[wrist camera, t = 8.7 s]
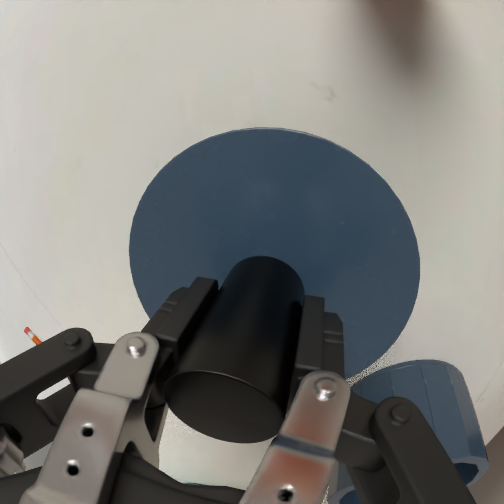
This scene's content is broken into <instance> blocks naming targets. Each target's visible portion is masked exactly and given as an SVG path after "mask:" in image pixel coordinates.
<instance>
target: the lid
mask: <svg viewBox="0 0 504 504" xmlns="http://www.w3.org/2000/svg"><path fill="white" fill-rule="evenodd" d="M129 257H130V268H131V273H132V278H133V282H134V285H135V288H136V291H137V294H138V297H139V299H140V301H141V303H142V306H143V308H144V310H145V312H146V313H147V315H148V316H149V318H150V319H151V318H152V317H153V315H154V314H155V313H156V312H157V310H158V309H160V307H161V305H162V304H163V303H165V300H166V299H167V298H168V297H169V296H170V294H171V293H172V292H174V291H176V290H178V289H179V288H181V287H187V288H189V287H190V286H191V284H192V283H193V282H194V280H195V279H196V278H197V277H198V276H199V277H204V278H210V279H215V280H218V284H219V291H218V292H217V294H216V296H215V297H214V299H213V301H212V303H211V304H210V306H209V308H208V309H207V311H206V313H205V314H204V316H203V318H202V320H201V321H200V323H199V325H198V326H197V328H196V330H195V331H194V333H193V335H192V337H191V338H190V340H189V342H188V343H187V345H186V347H185V349H184V350H183V352H182V354H181V355H180V357H179V359H178V361H177V362H176V364H175V366H174V367H173V369H172V371H171V373H170V374H169V376H168V378H167V379H166V381H165V383H164V386H163V395H164V399H165V401H166V403H167V405H168V407H169V408H170V410H171V411H172V412H173V413H174V414H175V415H176V416H177V417H178V418H179V419H180V420H181V421H182V422H184V423H185V424H187V425H188V426H189V427H191V428H193V429H194V430H196V431H198V432H200V433H202V434H205V435H207V436H210V437H212V438H215V439H219V440H223V441H227V442H234V443H257V442H262V441H265V440H268V439H270V438H272V437H274V436H276V435H277V434H278V432H279V430H280V428H281V426H282V424H283V422H284V419H285V417H286V411H287V406H288V400H289V395H290V384H291V378H292V372H293V366H294V360H295V353H296V347H297V340H298V334H299V327H300V320H301V312H302V306H303V300H304V295H311V296H317V297H324V298H325V307H324V312H330V313H337V315H338V316H339V318H340V319H341V321H342V323H343V336H344V343H343V344H344V368H345V380H346V379H348V378H350V377H352V376H354V375H356V374H357V373H359V372H361V371H362V370H364V369H365V368H367V367H368V366H370V365H371V364H373V363H374V362H375V361H376V360H377V359H379V358H380V357H381V356H382V355H383V354H384V353H385V352H386V351H387V350H388V349H389V348H390V347H391V346H392V344H393V343H394V342H395V341H396V340H397V338H398V337H399V335H400V334H401V332H402V331H403V329H404V328H405V326H406V324H407V321H408V319H409V317H410V315H411V313H412V310H413V307H414V304H415V301H416V298H417V293H418V287H419V280H420V257H419V251H418V245H417V239H416V236H415V233H414V230H413V227H412V224H411V221H410V219H409V217H408V215H407V213H406V211H405V209H404V207H403V205H402V203H401V201H400V200H399V198H398V197H397V196H396V194H395V193H394V192H393V190H392V189H391V187H390V186H389V185H388V184H387V182H386V181H385V180H384V179H383V178H382V177H381V176H380V175H379V174H378V173H377V172H376V171H375V170H374V169H373V168H372V167H371V166H370V165H368V164H367V163H366V162H364V161H363V160H362V159H360V158H359V157H357V156H356V155H355V154H353V153H352V152H350V151H349V150H347V149H345V148H343V147H341V146H339V145H337V144H335V143H333V142H331V141H329V140H327V139H324V138H322V137H319V136H316V135H313V134H309V133H306V132H302V131H297V130H291V129H285V128H267V127H256V128H248V129H240V130H233V131H229V132H226V133H222V134H219V135H215V136H212V137H209V138H207V139H205V140H203V141H201V142H199V143H196V144H194V145H192V146H190V147H189V148H187V149H186V150H184V151H183V152H181V153H180V154H179V155H177V156H176V157H174V158H173V159H172V160H171V161H170V162H169V163H168V164H167V165H165V166H164V167H163V168H162V169H161V170H160V171H159V173H158V174H157V175H156V176H155V178H154V179H153V180H152V181H151V183H150V184H149V185H148V187H147V189H146V191H145V192H144V194H143V196H142V198H141V200H140V202H139V204H138V207H137V210H136V212H135V215H134V218H133V223H132V227H131V232H130V243H129Z"/></svg>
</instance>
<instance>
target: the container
mask: <svg viewBox="0 0 504 504" xmlns="http://www.w3.org/2000/svg"><path fill="white" fill-rule="evenodd" d="M350 389H351V390H352V391H353V392H354V393H355V394H357V395H358V396H360V397H362V398H365V399H367V400H370V401H373V402H376V403H378V404H379V403H380V402H381V401H382V400H384V399H385V398H388V397H392V396H399V397H404V398H407V399H409V400H411V401H412V402H413V403H415V404H416V405H417V407H418V408H419V410H420V411H421V413H422V414H423V416H424V417H425V419H426V420H427V422H428V423H429V425H430V427H431V428H432V430H433V431H434V433H435V435H436V436H437V438H438V439H439V441H440V443H441V444H442V446H443V447H444V449H445V451H446V452H447V454H448V456H449V457H450V459H451V461H452V462H453V464H454V466H455V467H456V469H457V471H458V472H459V474H460V476H461V477H462V479H463V481H464V483H465V484H466V486H467V488H468V487H469V486H471V485H472V484H474V483H475V482H476V481H478V480H479V479H480V478H481V477H482V475H483V474H484V473H485V471H486V470H487V469H488V467H489V463H488V458H487V453H486V449H485V445H484V441H483V437H482V433H481V430H480V426H479V422H478V419H477V416H476V412H475V409H474V406H473V403H472V400H471V397H470V394H469V391H468V388H467V385H466V383H465V380H464V377H463V375H462V373H461V372H460V371H459V370H458V369H457V368H456V367H454V366H453V365H451V364H449V363H446V362H442V361H437V360H415V361H409V362H403V363H399V364H396V365H392V366H389V367H386V368H383V369H381V370H379V371H376V372H374V373H372V374H370V375H368V376H366V377H365V378H363V379H362V380H360V381H358V382H357V383H356V384H354V385H353V386H352V387H351V388H350ZM327 502H328V504H361V502H360V499H359V497H358V495H357V492H356V490H355V487H354V485H353V483H352V480H351V478H350V476H349V473H348V471H347V469H346V466H345V464H344V463H342V462H339V461H336V462H335V465H334V469H333V472H332V475H331V478H330V481H329V488H328V496H327Z"/></svg>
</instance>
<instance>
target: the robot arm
mask: <svg viewBox="0 0 504 504" xmlns="http://www.w3.org/2000/svg"><path fill="white" fill-rule="evenodd" d="M218 291H219V284H218V280H215V279H210V278H204V277H199V276H198V277H197V278H196V279H195V280H194V282H193V283H192V284H191V286H190V287H189V288H187V287H181V288H179V289H178V290H176V291H174V292H172V293H171V294H170V296H169V297H168V298H167V299H166V300H165V303H163V304H162V305H161V307H160V309H158V310H157V312H156V313H155V314H154V315H153V317H152V318H151V319H150V320H149V322H148V323H147V324H146V326H145V327H144V328H143V329H142V331H141V332H132V333H128V334H126V335H124V336H122V337H121V338H119V339H118V340H117V342H116V343H115V344H108V343H94V341H93V338H92V335H91V333H90V332H89V331H87V330H86V329H83V328H71V329H67V330H65V331H63V332H61V333H59V334H57V335H55V336H53V337H52V338H50V339H48V340H46V341H44V342H42V343H40V344H38V345H36V346H34V347H33V348H31V349H29V350H27V351H25V352H23V353H21V354H19V355H18V356H16V357H14V358H12V359H10V360H8V361H6V362H5V363H3V364H1V365H0V504H321V503H322V501H323V498H324V495H325V492H326V490H327V487H328V484H329V481H330V478H331V475H332V472H333V469H334V465H335V462H336V461H339V462H342V463H344V464H345V466H346V469H347V471H348V473H349V476H350V478H351V480H352V483H353V485H354V487H355V490H356V492H357V495H358V497H359V499H360V502H361V504H476V502H475V500H474V498H473V497H472V495H471V493H470V491H469V490H468V488H467V486H466V484H465V483H464V481H463V479H462V477H461V476H460V474H459V472H458V471H457V469H456V467H455V466H454V464H453V462H452V461H451V459H450V457H449V456H448V454H447V452H446V451H445V449H444V447H443V446H442V444H441V443H440V441H439V439H438V438H437V436H436V435H435V433H434V431H433V430H432V428H431V427H430V425H429V423H428V422H427V420H426V419H425V417H424V416H423V414H422V413H421V411H420V410H419V408H418V407H417V405H416V404H415V403H413V402H412V401H411V400H409V399H407V398H404V397H399V396H392V397H388V398H385V399H384V400H382V401H381V402H380V403H379V404H378V403H376V402H373V401H370V400H367V399H365V398H362V397H360V396H358V395H357V394H355V393H354V392H353V391H352V390H351V389H350V386H349V384H348V382H347V381H346V380H345V368H344V344H343V343H344V336H343V323H342V321H341V319H340V318H339V316H338V315H337V313H330V312H324V307H325V298H324V297H317V296H311V295H304V300H303V306H302V312H301V320H300V327H299V334H298V340H297V347H296V353H295V360H294V366H293V372H292V378H291V384H290V395H289V400H288V406H287V411H286V414H287V415H286V417H285V419H284V422H283V424H282V426H281V428H280V430H279V432H278V434H277V436H276V437H275V438H274V439H273V440H272V442H271V444H270V446H269V448H268V450H267V452H266V454H265V456H264V458H263V460H262V462H261V464H260V466H259V467H258V469H257V471H256V473H255V475H254V477H253V479H252V481H251V482H250V484H249V486H248V488H247V490H241V489H236V488H232V487H227V486H209V485H194V484H184V483H180V482H178V481H176V480H175V479H173V478H171V477H170V476H168V475H167V474H165V473H164V472H162V471H160V470H159V444H160V440H161V436H162V432H163V428H164V424H165V420H166V416H167V412H168V408H169V407H168V405H167V403H166V401H165V399H164V395H163V386H164V383H165V381H166V379H167V378H168V376H169V374H170V373H171V371H172V369H173V367H174V366H175V364H176V362H177V361H178V359H179V357H180V355H181V354H182V352H183V350H184V349H185V347H186V345H187V343H188V342H189V340H190V338H191V337H192V335H193V333H194V331H195V330H196V328H197V326H198V325H199V323H200V321H201V320H202V318H203V316H204V314H205V313H206V311H207V309H208V308H209V306H210V304H211V303H212V301H213V299H214V297H215V296H216V294H217V292H218ZM66 377H68V379H69V381H70V383H71V384H69V385H67V386H66V387H64V388H62V389H61V390H59V391H57V392H56V393H54V394H52V395H51V396H49V397H47V398H45V399H43V400H39V399H36V398H37V396H38V394H39V393H41V392H42V391H44V390H46V389H47V388H49V387H51V386H53V385H54V384H56V383H58V382H59V381H61V380H63V379H65V378H66ZM52 441H53V443H52V445H51V448H50V450H49V452H48V455H47V457H46V459H45V462H44V464H43V466H41V467H38V468H34V469H31V470H28V471H25V468H26V466H25V463H24V462H23V459H24V458H26V457H28V456H29V455H31V454H33V453H34V452H36V451H38V450H39V449H41V448H42V447H44V446H46V445H47V444H49V443H50V442H52ZM15 472H16V473H17V474H14V473H15Z"/></svg>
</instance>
